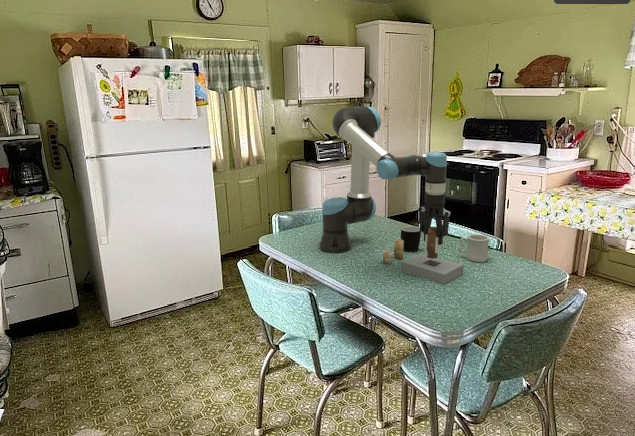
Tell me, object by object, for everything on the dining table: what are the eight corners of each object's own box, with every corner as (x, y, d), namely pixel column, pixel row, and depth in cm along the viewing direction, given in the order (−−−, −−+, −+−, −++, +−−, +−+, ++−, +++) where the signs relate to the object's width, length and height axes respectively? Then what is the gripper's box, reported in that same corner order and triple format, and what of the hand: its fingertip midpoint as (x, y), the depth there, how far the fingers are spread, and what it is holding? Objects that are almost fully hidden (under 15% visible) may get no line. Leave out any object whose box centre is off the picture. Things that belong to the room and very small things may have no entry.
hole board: (400, 270, 187) (401, 261, 186) (420, 262, 196) (420, 253, 195) (444, 284, 173) (444, 274, 172) (463, 274, 182) (463, 264, 181)
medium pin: (392, 257, 202) (392, 240, 200) (397, 255, 205) (398, 238, 203) (399, 260, 199) (400, 242, 197) (405, 257, 202) (405, 240, 200)
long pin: (425, 257, 183) (426, 228, 180) (430, 254, 185) (431, 226, 182) (433, 259, 180) (435, 229, 177) (439, 256, 183) (440, 227, 180)
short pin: (380, 262, 197) (380, 251, 195) (386, 260, 199) (386, 249, 198) (388, 264, 194) (388, 253, 193) (393, 262, 197) (394, 251, 195)
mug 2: (488, 257, 200) (490, 235, 198) (486, 263, 193) (488, 241, 190) (459, 253, 206) (460, 232, 203) (456, 260, 198) (457, 238, 195)
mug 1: (424, 251, 210) (425, 229, 207) (408, 254, 206) (408, 232, 204) (408, 243, 220) (409, 223, 218) (393, 246, 217) (393, 226, 214)
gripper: (410, 191, 180) (409, 248, 186) (449, 197, 168) (446, 258, 174) (421, 188, 185) (420, 244, 191) (460, 194, 173) (457, 253, 179)
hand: (432, 250), depth 182 cm, fingers closed on long pin, 4 cm apart
